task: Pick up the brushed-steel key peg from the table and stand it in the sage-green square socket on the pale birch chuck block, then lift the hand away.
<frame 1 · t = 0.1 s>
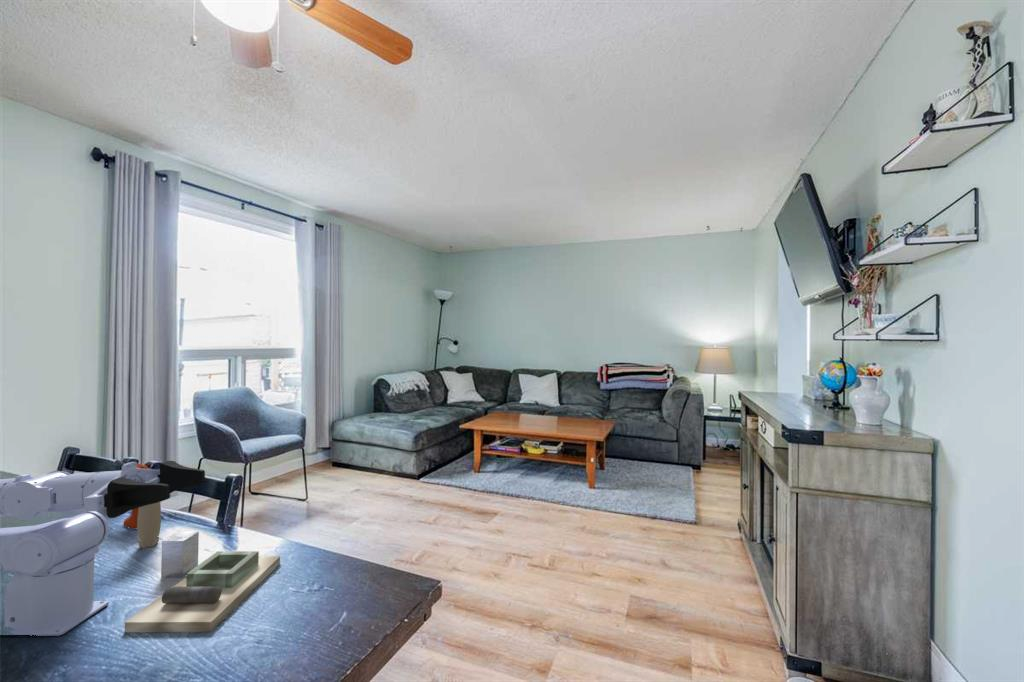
hand: (186, 483, 68), 22 cm above the table, tool horizontal, fingers open, 7 cm apart
chuck block: (212, 593, 74), on the table
handle: (148, 546, 91), on the table
key peg: (180, 572, 81), on the table
toy drill: (131, 521, 104), on the table
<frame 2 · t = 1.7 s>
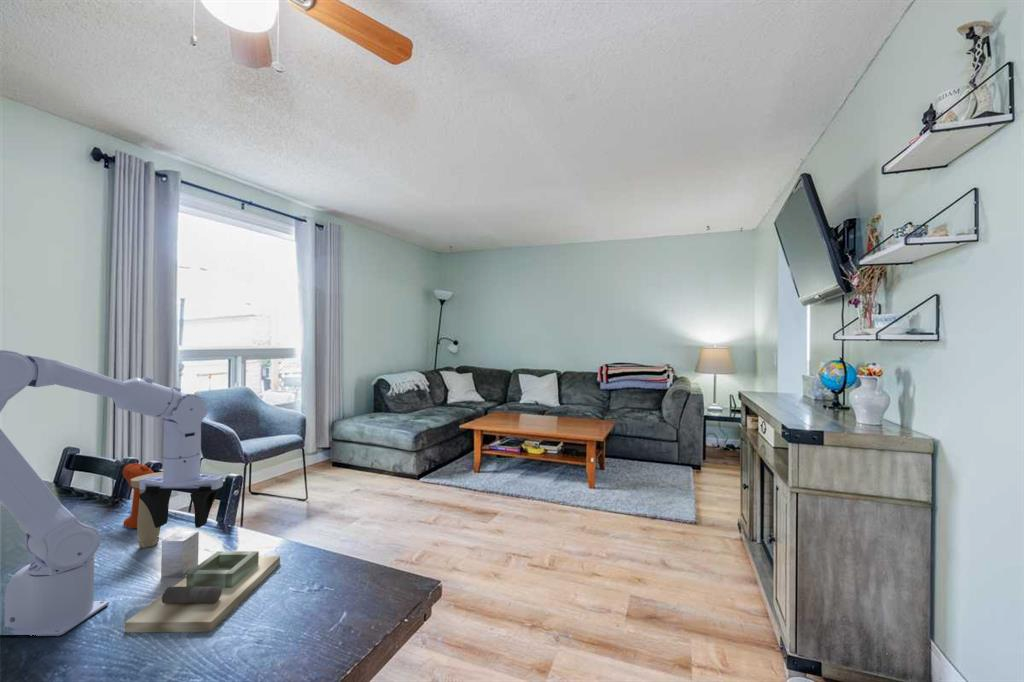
hand: (181, 525, 81), 9 cm above the table, tool pointing down, fingers open, 7 cm apart
nothing on the table moved.
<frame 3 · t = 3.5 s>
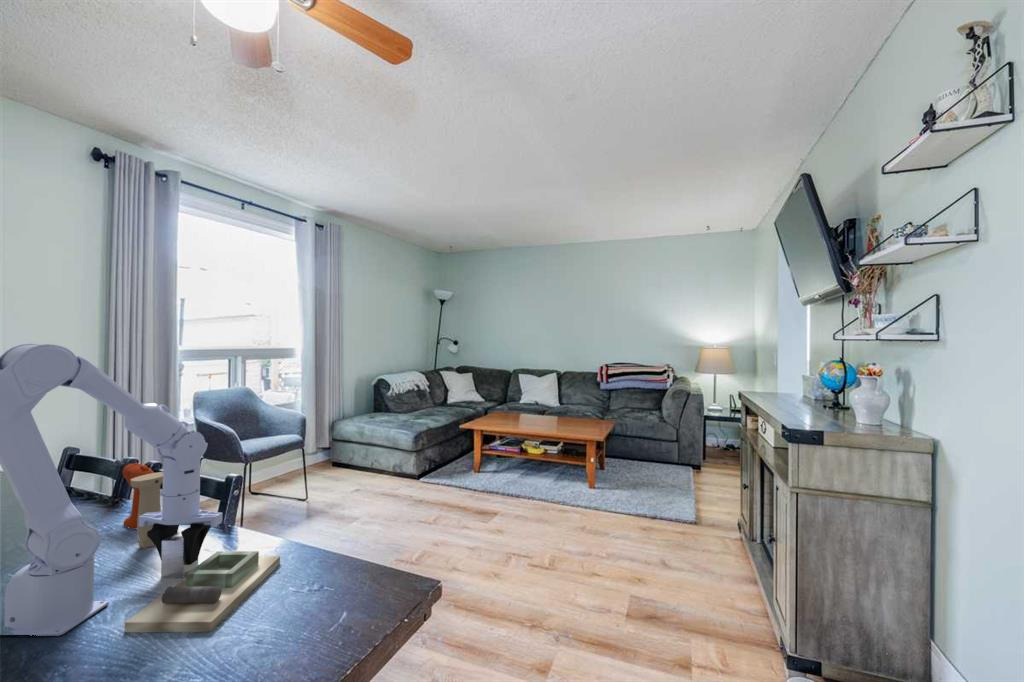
hand: (180, 562, 81), 2 cm above the table, tool pointing down, fingers closed on key peg, 4 cm apart
key peg: (180, 572, 81), on the table, touching gripper
everything else where it was.
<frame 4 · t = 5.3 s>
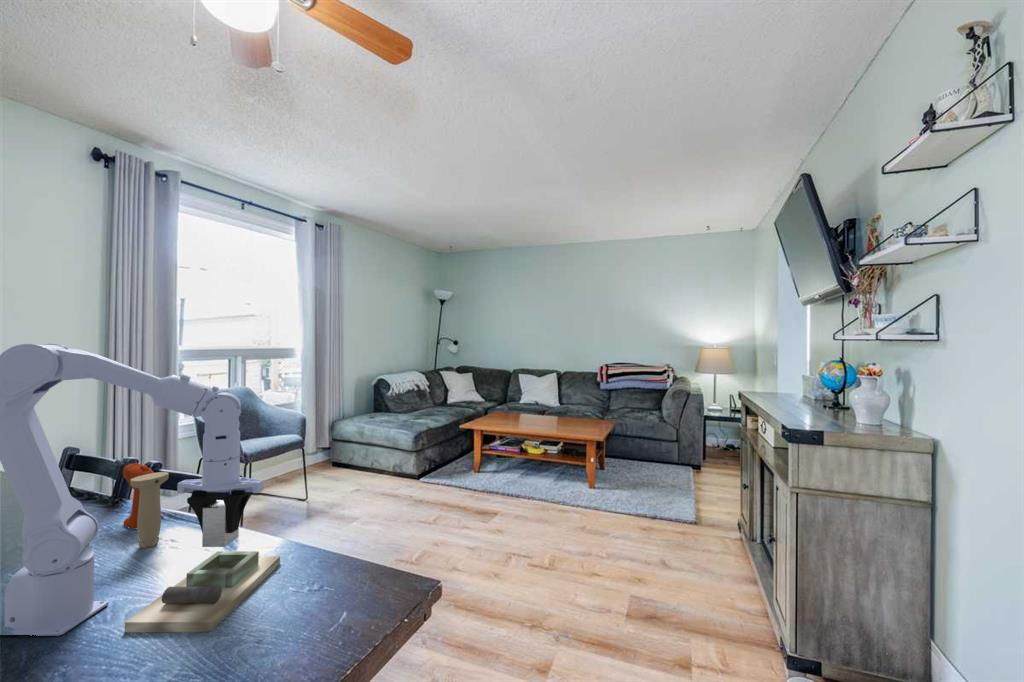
hand: (220, 530, 78), 9 cm above the table, tool pointing down, fingers closed on key peg, 4 cm apart
key peg: (220, 541, 78), point 7 cm above the table, touching gripper
everything else where it was.
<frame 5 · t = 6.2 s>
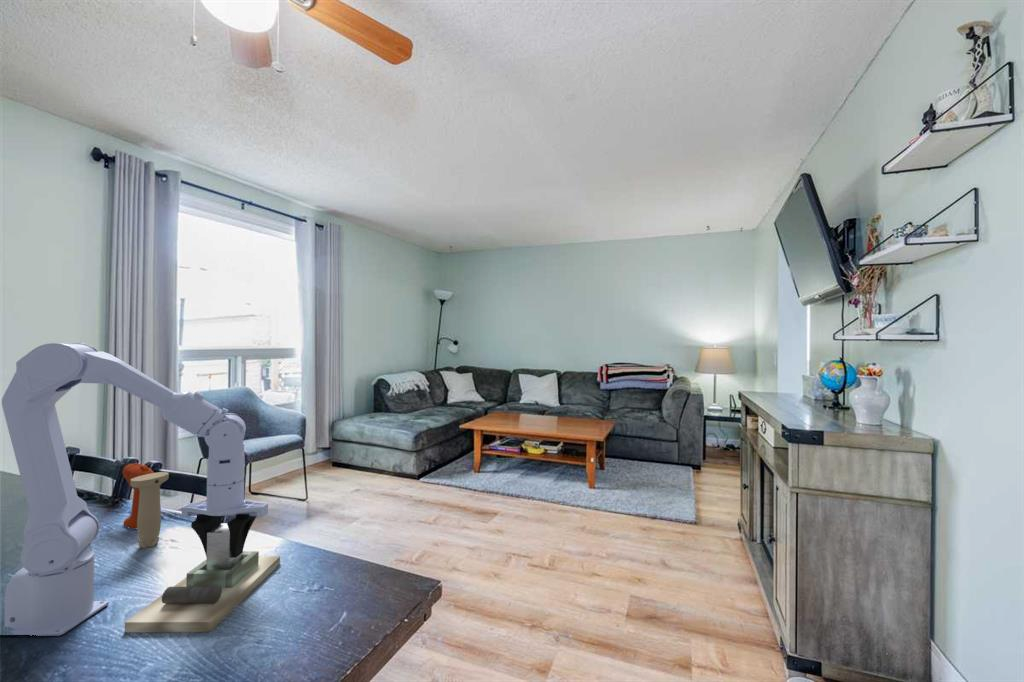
hand: (224, 555, 77), 5 cm above the table, tool pointing down, fingers closed on key peg, 4 cm apart
key peg: (225, 565, 77), point 3 cm above the table, touching gripper
everything else where it was.
when the fingers open (5 cm above the table, at t = 7.1 s): key peg drops 1 cm, resting on chuck block.
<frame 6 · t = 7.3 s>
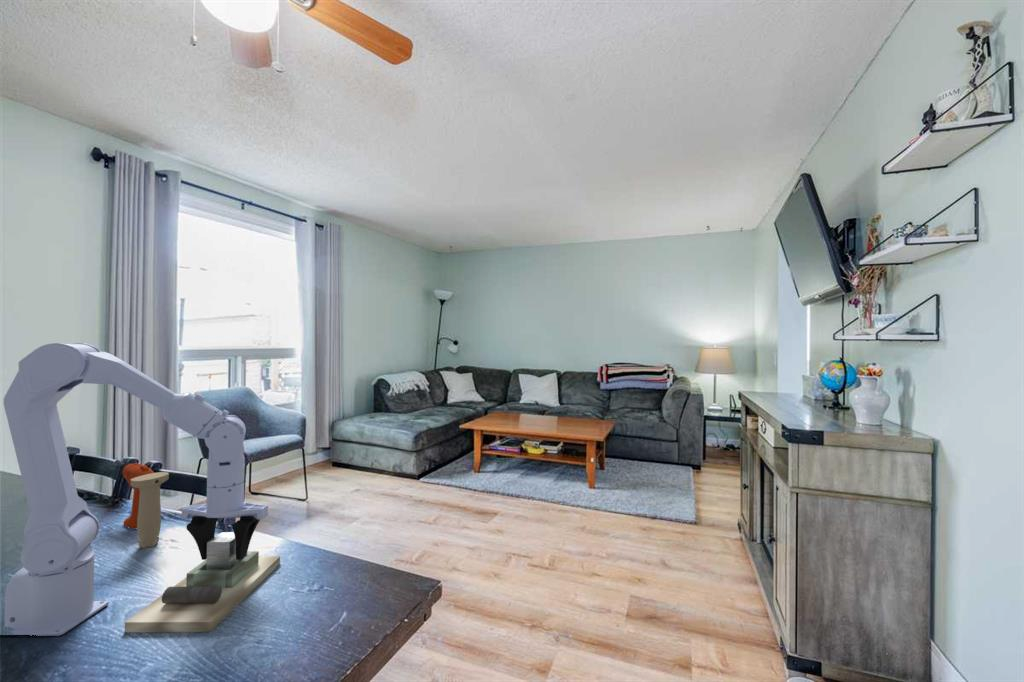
hand: (224, 557, 77), 5 cm above the table, tool pointing down, fingers open, 6 cm apart
key peg: (224, 575, 77), point 1 cm above the table, touching chuck block
everything else where it was.
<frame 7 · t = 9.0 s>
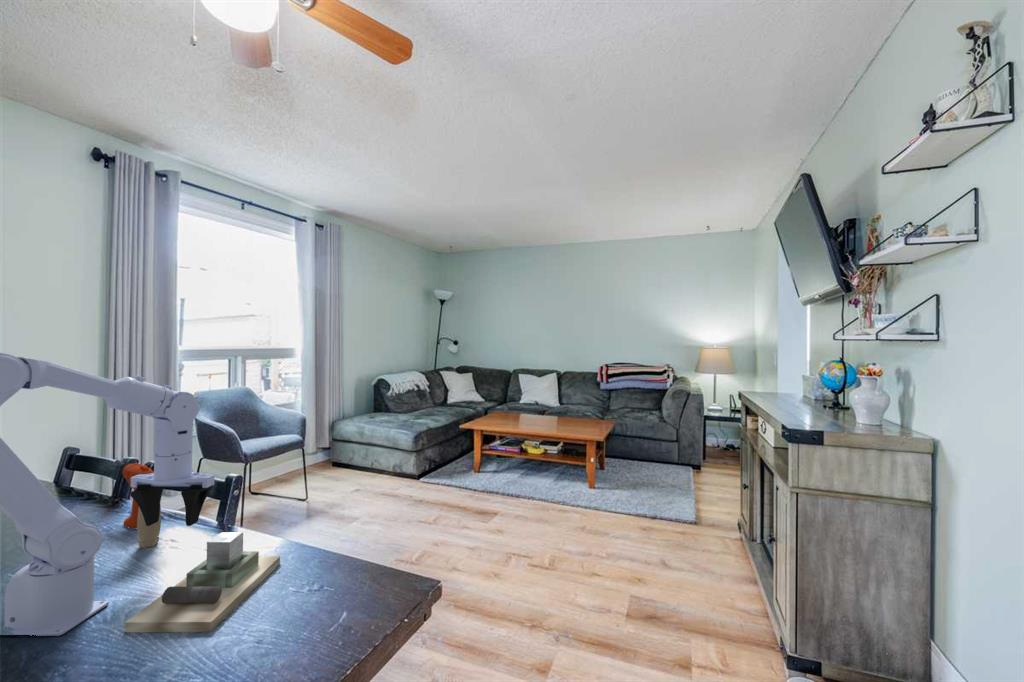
hand: (172, 523, 81), 9 cm above the table, tool pointing down, fingers open, 7 cm apart
nothing on the table moved.
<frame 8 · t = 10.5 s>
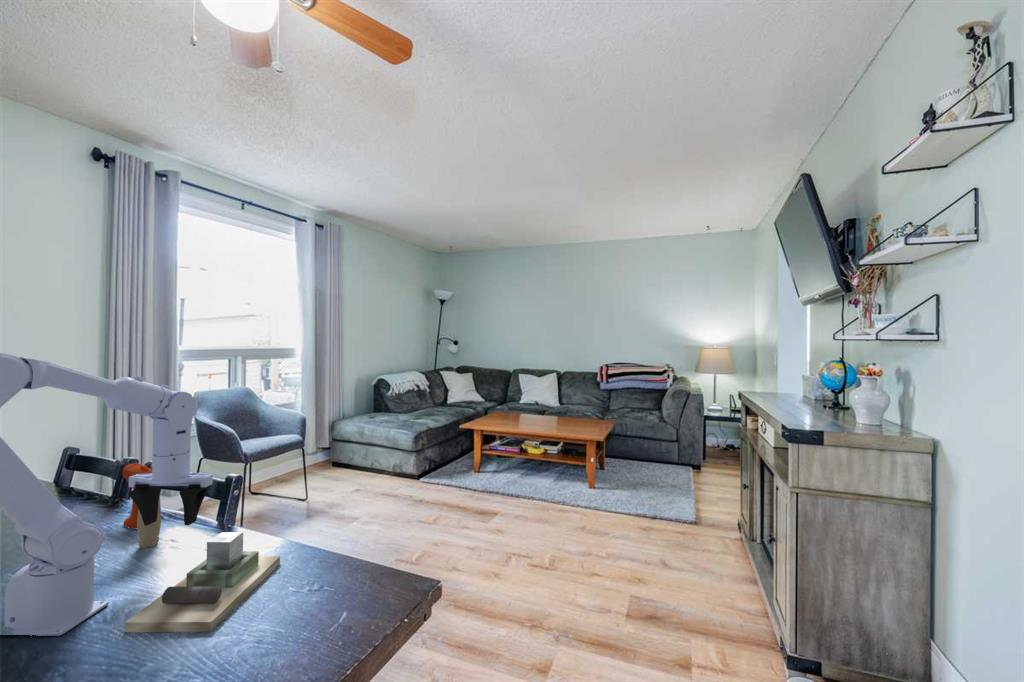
hand: (170, 523, 81), 9 cm above the table, tool pointing down, fingers open, 7 cm apart
nothing on the table moved.
at the end: key peg 0.2 cm from the target spot on the chuck block, point 1.5 cm above the chuck block's base; key peg tilted 0°; the gripper is holding nothing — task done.
